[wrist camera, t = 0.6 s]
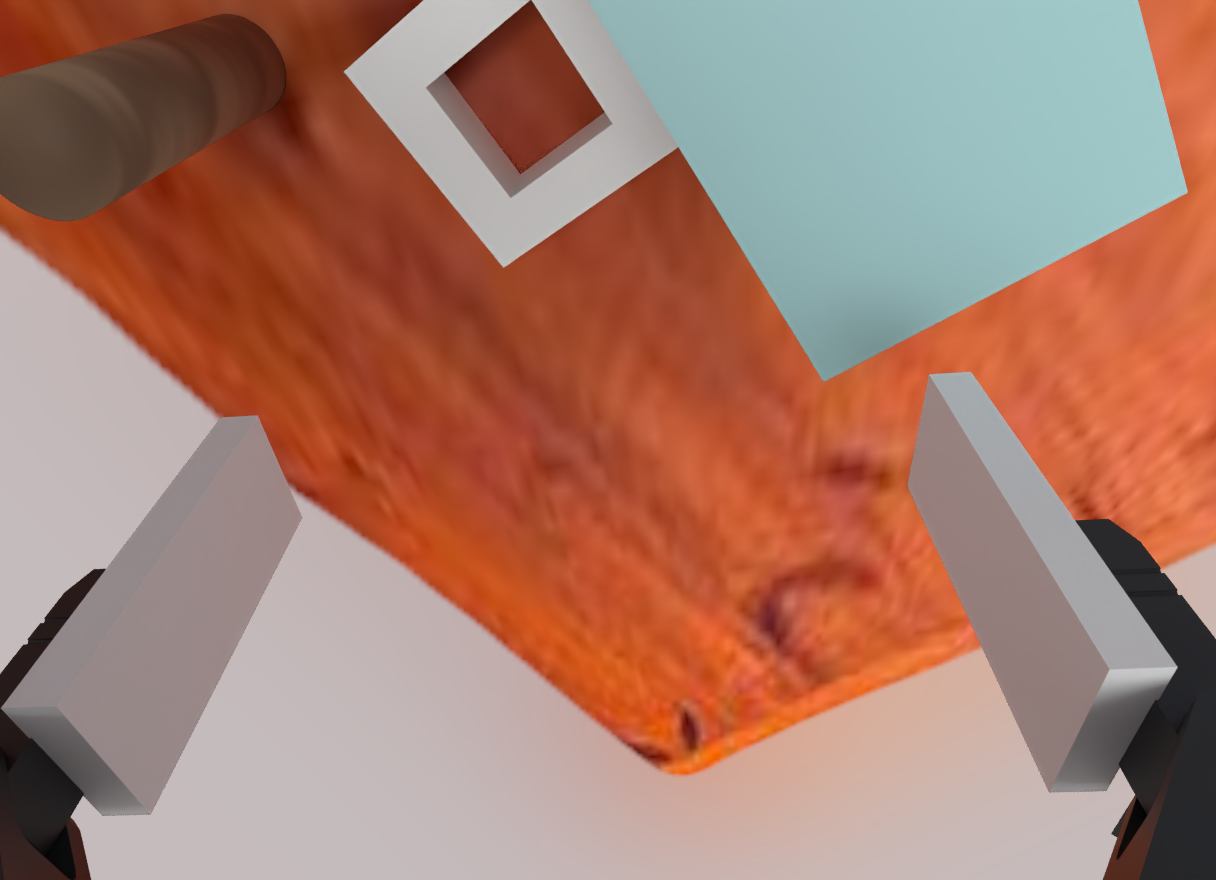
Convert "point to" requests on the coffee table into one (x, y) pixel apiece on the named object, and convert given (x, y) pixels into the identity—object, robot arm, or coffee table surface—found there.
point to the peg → (130, 112)
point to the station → (819, 139)
